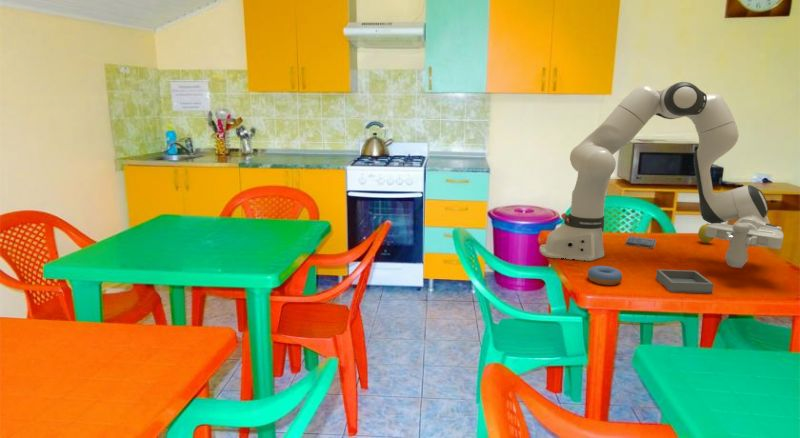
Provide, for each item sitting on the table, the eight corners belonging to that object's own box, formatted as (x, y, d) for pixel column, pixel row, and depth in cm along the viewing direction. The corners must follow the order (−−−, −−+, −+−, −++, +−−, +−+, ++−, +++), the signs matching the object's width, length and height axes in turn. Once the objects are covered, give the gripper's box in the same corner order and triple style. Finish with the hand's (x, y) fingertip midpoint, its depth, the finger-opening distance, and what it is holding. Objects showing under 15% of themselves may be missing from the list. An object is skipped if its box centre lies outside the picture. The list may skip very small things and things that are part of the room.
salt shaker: (749, 269, 160) (757, 227, 156) (728, 268, 161) (735, 226, 157) (741, 262, 165) (748, 221, 162) (720, 261, 166) (727, 220, 163)
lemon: (713, 246, 204) (716, 225, 202) (696, 244, 207) (699, 223, 205) (713, 242, 208) (716, 222, 207) (697, 240, 211) (700, 220, 209)
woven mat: (656, 243, 209) (657, 238, 208) (653, 250, 200) (654, 245, 199) (628, 240, 214) (628, 235, 213) (623, 246, 205) (624, 241, 205)
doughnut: (603, 272, 173) (604, 259, 172) (628, 284, 165) (630, 270, 163) (580, 280, 169) (581, 267, 168) (605, 292, 161) (606, 278, 159)
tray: (670, 292, 157) (671, 282, 157) (655, 278, 169) (656, 269, 168) (712, 293, 156) (713, 283, 156) (694, 279, 168) (695, 270, 167)
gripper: (712, 216, 176) (701, 223, 166) (787, 227, 163) (781, 236, 153) (709, 235, 178) (698, 243, 168) (784, 247, 165) (777, 257, 154)
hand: (738, 240), depth 160 cm, fingers closed on salt shaker, 3 cm apart
